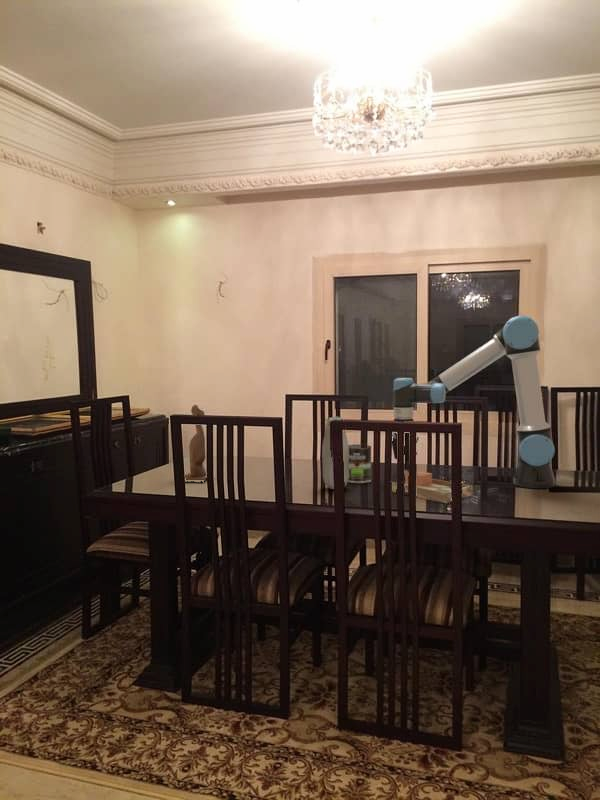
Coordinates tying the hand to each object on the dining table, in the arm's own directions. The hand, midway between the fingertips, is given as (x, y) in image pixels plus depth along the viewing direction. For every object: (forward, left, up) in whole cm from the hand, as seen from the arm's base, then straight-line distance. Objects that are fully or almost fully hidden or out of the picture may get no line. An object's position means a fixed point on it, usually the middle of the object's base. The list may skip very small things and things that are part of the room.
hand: (404, 478), depth 245 cm
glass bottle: (+22, -15, -3) cm, 27 cm away
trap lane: (+3, +14, -3) cm, 15 cm away
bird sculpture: (+51, -68, -3) cm, 85 cm away
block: (0, +7, -1) cm, 7 cm away
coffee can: (+5, -19, -3) cm, 20 cm away
